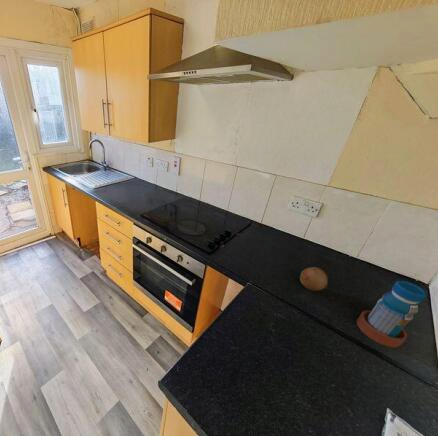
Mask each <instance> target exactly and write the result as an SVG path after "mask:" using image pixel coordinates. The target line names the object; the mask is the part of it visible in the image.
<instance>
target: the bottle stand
mask: <svg viewBox="0 0 438 436" xmlns="http://www.w3.org/2000/svg"><path fill="white" fill-rule="evenodd" d="M371 312H372V310H363V311H362V312H361V313H360V314H359V316H358V317H357V319H356V325H357V328H359V330H360V331H361V332H362V333H363V335H365V336H366V337H368V338H370V339H371V340H372V341H374V342H376V343H378V344H380V345H382V346H385V347H389V348H399V347H401V345H403V344H404V343H405V341H406V340H407V339H408V334H407V331H406V330H405V329H404V328H403V329H402V330H401V331H400V332H399V334H398V335H397V336H396V338H393V337H389V336H387V335H384V334H382V333H380V332H379V331H377V330H376V329H374V328H373V327H371V326H370V325H369V324H368V323H367V322H366V318H367V317H368V316H369V314H370V313H371Z"/></svg>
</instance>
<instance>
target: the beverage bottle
mask: <svg viewBox="0 0 438 436" xmlns="http://www.w3.org/2000/svg"><path fill="white" fill-rule="evenodd" d="M427 295H428V294H427V292H426V290H425V289H423V288H422V287H420V286H418V285H417V284H414V283H412V282H410V281H407V280H397V281H396V282H395V283H394V284H393V286H392V288H391V290H389V291H387V292H385V293H383V295H382V296H381V298H379V299H378V300H377V302H376V304H375V306H374V307H373V308H372V310H371V311H372V312H371V313H370V314H369V316H368V317H367V318H366V322H367V323H368V324H369V325H370V326H371V327H373V328H374V329H376V330H377V331H379V332H380V333H382V334H384V335H387V336H389V337H393V338H396V336H397V335H398V334H399V332H400V331H401V330H402V329H404V328H405V327H406V326H407V324H408V323H409V322H410V321H412V320H413V319H414V317H415V314H417V313H418V311H419V303H422V302H423V301H424V299H425V298H426V297H427Z"/></svg>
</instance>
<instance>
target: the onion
mask: <svg viewBox="0 0 438 436" xmlns="http://www.w3.org/2000/svg"><path fill="white" fill-rule="evenodd" d="M299 275H300V276H299V281H300V283H301V284H302V286H303V287H304V288H305V289H307V290H309V291H311V292H319V291H322V290H324V289H325V288H327V286H328V284H329V283H328V282H329V278H328V275H327V273H326V272H325V271H324V270H323V269H321V268H319V267H314V266H312V267H311V266H310V267H306V268H305V269H303V270H302V271H301V273H300V274H299Z"/></svg>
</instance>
